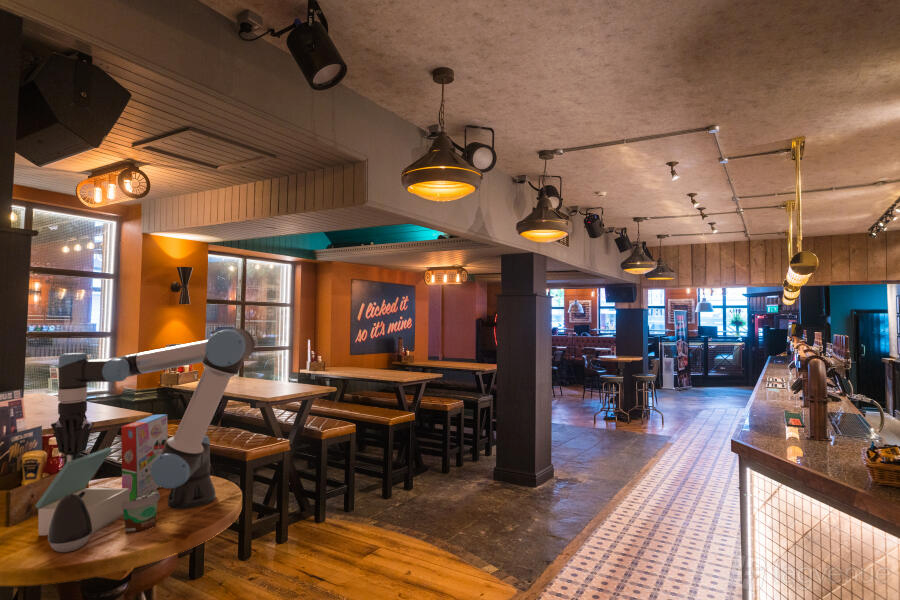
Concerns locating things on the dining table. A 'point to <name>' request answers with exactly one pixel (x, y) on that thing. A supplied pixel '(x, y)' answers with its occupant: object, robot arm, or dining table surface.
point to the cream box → (91, 507)
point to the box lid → (73, 476)
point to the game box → (142, 453)
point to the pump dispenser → (70, 524)
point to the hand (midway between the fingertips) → (72, 474)
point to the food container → (141, 512)
